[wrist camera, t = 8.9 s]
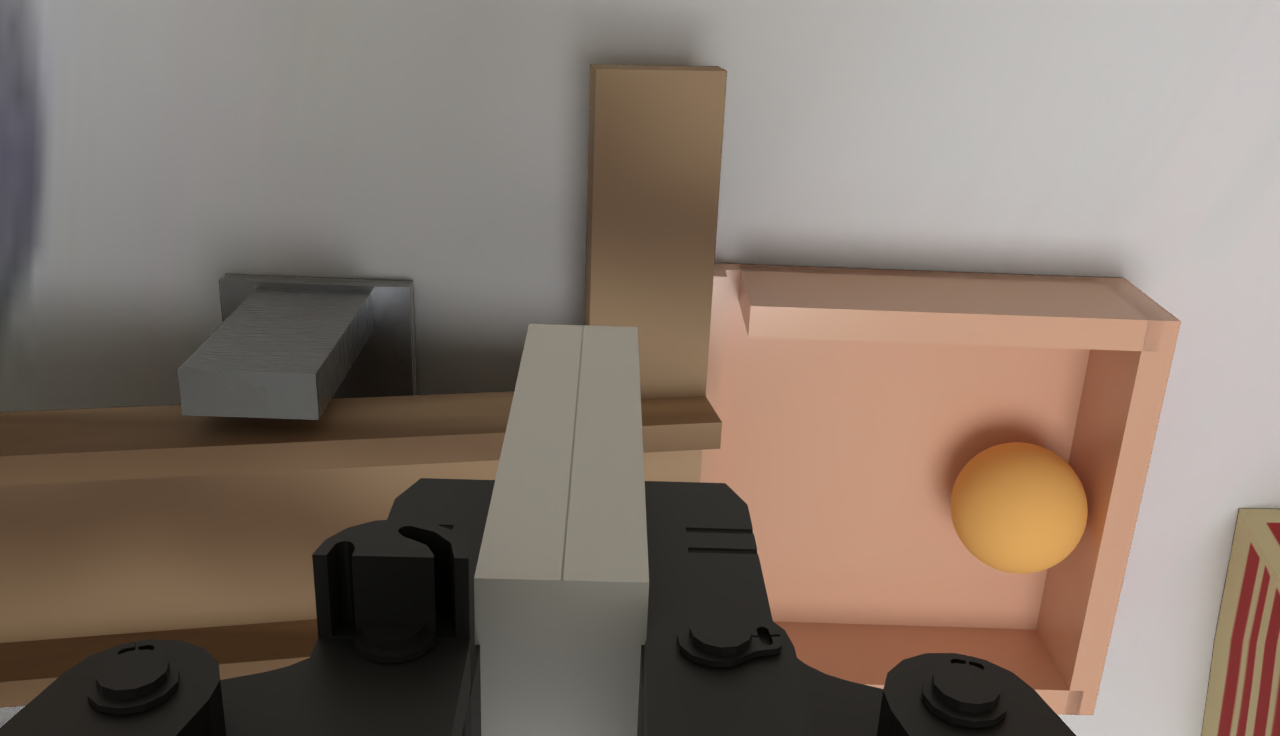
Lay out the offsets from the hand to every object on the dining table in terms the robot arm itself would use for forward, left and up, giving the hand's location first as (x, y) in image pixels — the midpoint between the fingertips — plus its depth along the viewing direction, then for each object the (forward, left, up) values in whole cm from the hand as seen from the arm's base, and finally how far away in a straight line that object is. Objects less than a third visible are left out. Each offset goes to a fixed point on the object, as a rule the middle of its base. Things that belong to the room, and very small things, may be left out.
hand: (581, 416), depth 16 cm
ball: (-8, -11, -13) cm, 19 cm away
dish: (-8, -8, -15) cm, 19 cm away
